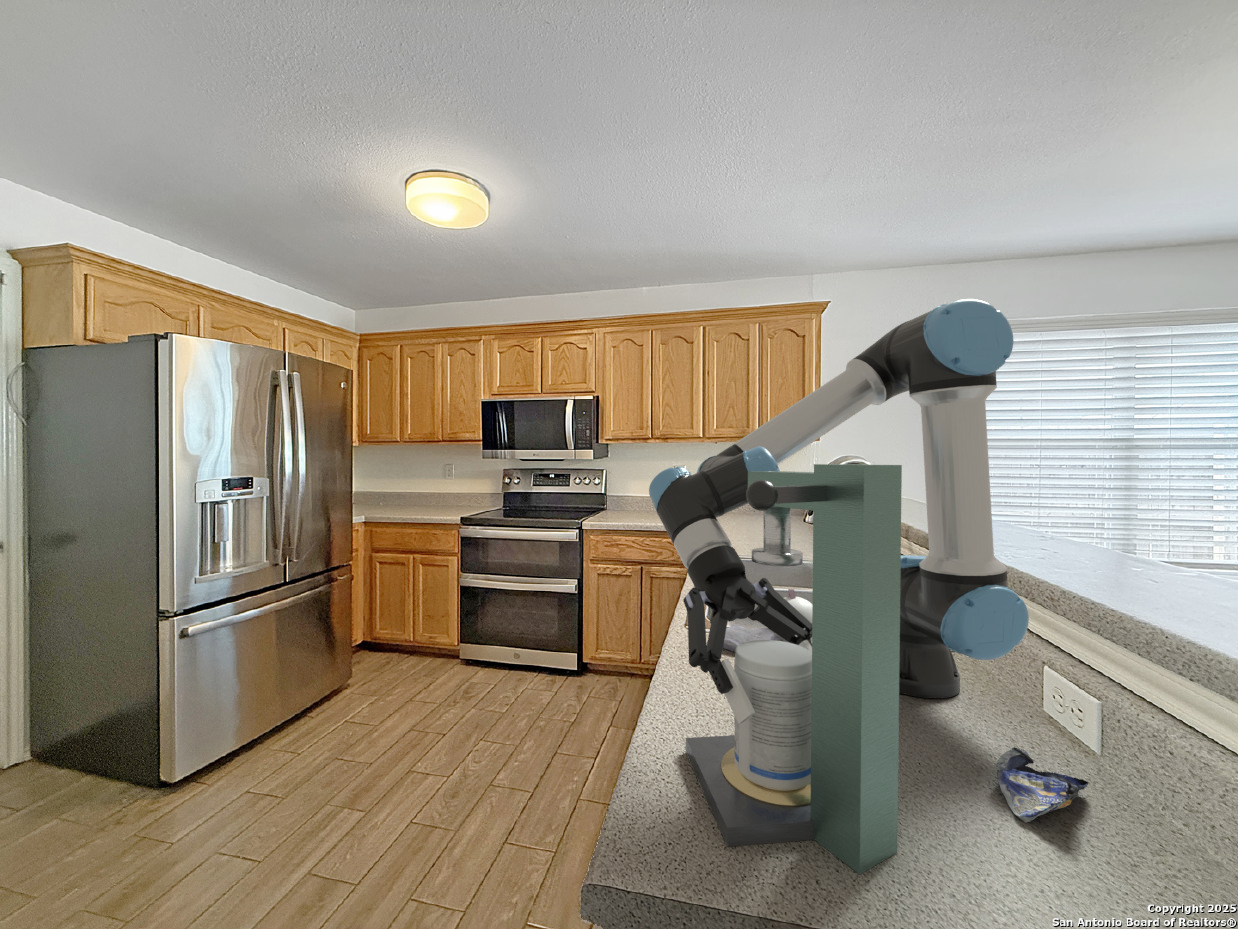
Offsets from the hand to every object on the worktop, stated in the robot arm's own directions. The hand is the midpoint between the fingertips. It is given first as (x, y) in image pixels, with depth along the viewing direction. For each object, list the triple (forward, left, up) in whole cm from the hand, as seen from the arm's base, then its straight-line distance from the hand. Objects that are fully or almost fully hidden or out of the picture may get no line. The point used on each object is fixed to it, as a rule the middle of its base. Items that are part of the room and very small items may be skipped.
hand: (790, 705), depth 64 cm
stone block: (-13, -49, -12) cm, 52 cm away
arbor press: (+1, 0, -11) cm, 11 cm away
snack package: (-30, +3, -12) cm, 32 cm away
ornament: (-24, -51, -11) cm, 58 cm away
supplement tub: (+1, -2, -9) cm, 9 cm away
